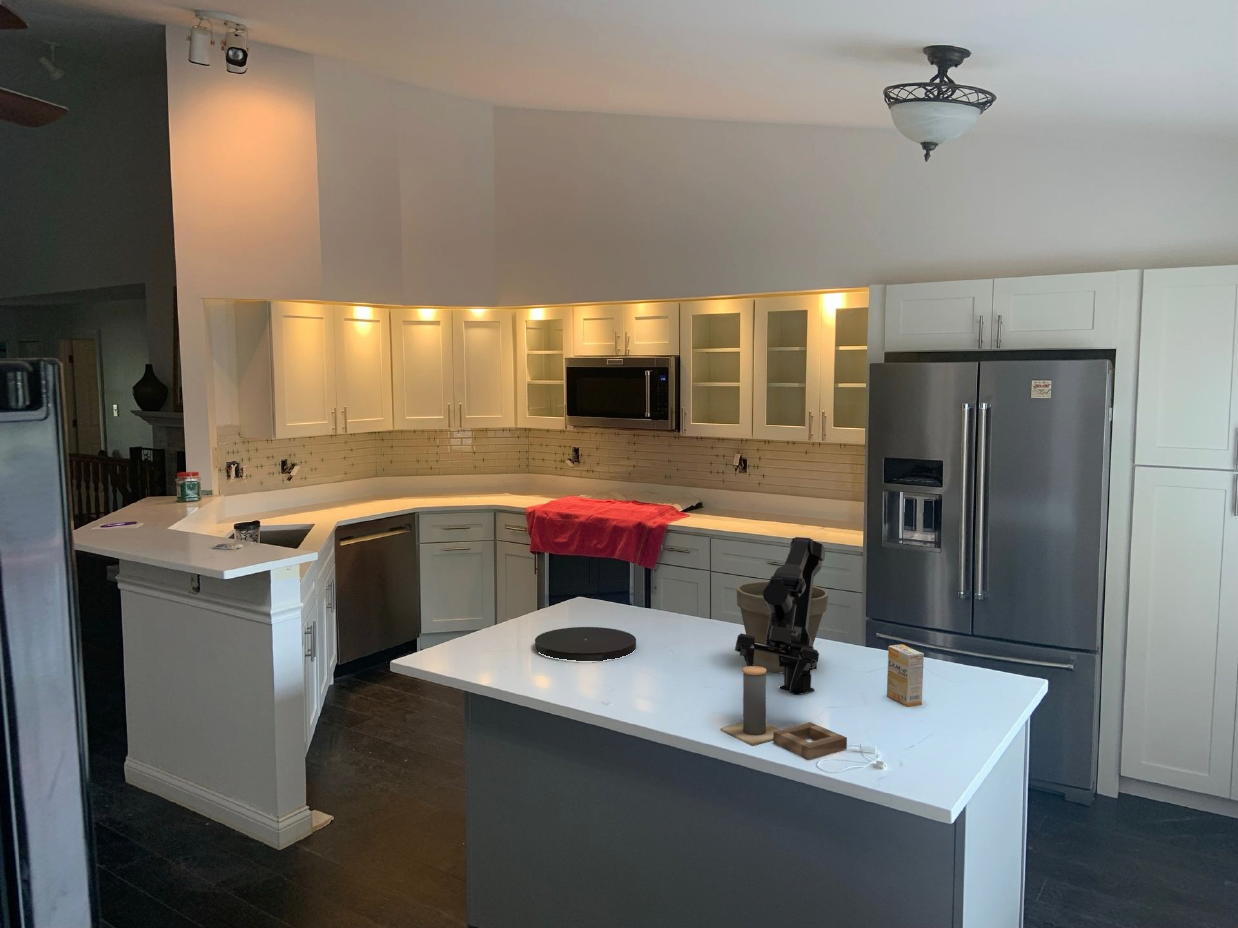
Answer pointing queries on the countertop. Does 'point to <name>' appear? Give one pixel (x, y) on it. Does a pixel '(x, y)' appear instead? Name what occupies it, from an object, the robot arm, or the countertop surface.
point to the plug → (754, 700)
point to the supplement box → (905, 675)
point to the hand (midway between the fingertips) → (770, 686)
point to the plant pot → (759, 614)
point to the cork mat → (753, 740)
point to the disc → (585, 643)
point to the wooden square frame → (821, 746)
